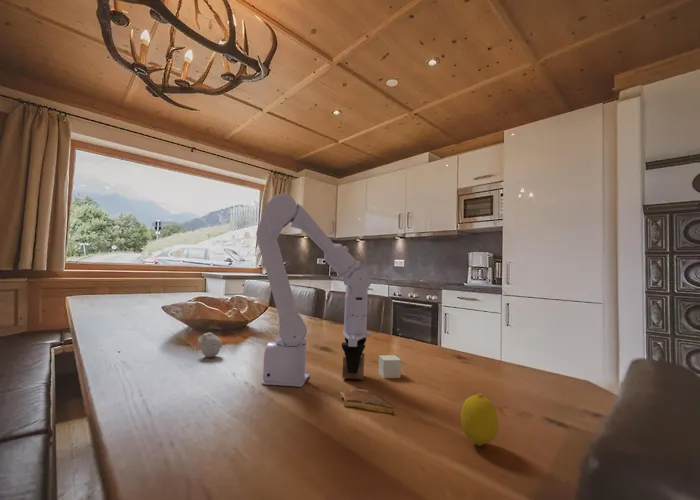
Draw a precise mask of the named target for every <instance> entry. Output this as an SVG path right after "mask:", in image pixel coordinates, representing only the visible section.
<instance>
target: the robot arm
mask: <svg viewBox="0 0 700 500" xmlns="http://www.w3.org/2000/svg"><path fill="white" fill-rule="evenodd" d="M290 223H291V224H290ZM289 224H290V227H291V228H294V229H299V230H302V231H303V232H304V233H305V234H306V236H308V238H309V239H311V241H313V242H314V243H315V244H316V246H318V247H319V249H321V250H322V251H323V253H324V254H323V256H324V257H323V260H324V261H325V263H327V264H328V265H329V267H331V268H332V270H333V271H334V272H335V273H336V274H337V275H338V277H340V278H342V281H343V283H344V285H345V296H344V318H343V331H342V336H344V341H345V342H344V341H343V342H342V343H341V348H342V350H343V352H344V354H345V356H346V362H347V369H348V373H354V374H357V371H358V367H359V362H360V357H361V354H362V353H364V350H365V348H366V341H367V337H371V336H372V333H371V332H370V331H367V327H368V326H367V323H368V299H369V298H368V297H369V296H368V293H369V292H368V289H369V287H371V284H372V280H373V279H372V278H371V276H370V275H371V274H370V272H369V271H368V270H367V269H366V268H364V267H361V266H360V265H361V264H362V263H361V262H360V260H356V259H355V258H354V256H352V255H351V253H349V248H348V246H347V245H344V246H343V245H342V243H334V242H333V241H332V240H331V239H330V237H329V236H328V235H327V234H326V232H324V230H323V229H322V228H321V227H320V226H319V224H318V223H317V222H316V221H315V220H314V218H313V217H312V216H311V215H310V213H308V212H307V210H306V209H305V208H304V207H303V206H302V205H300V204H299V203H297V202H296V200H295V199H294V197H292V196H291V195H289V194H287V193H278V194H275V195H274V196H273V197H272V198H271V199H270V200H269V201H268V203H267V204H266V205H265V206H264V210H263V214H262V216H261V219H260V221H259V224H258V227H257V229H256V233H255V234H256V235H255V236H256V239H257V243H258V247H259V251H260V254H261V259H262V261H263V265H264V269H265V272H266V275H267V279H268V283H269V287H270V290H271V293H272V297H273V301H274V303H275V304H274V305H275V307H276V312H277V316H278V324H277V325H278V326H277V327H278V335H279V336H278V338H276V339H275V341H270V342H268V343H266V347H265V348H264V354H263V356H264V357H263V373H262V375H263V376H262V381H261V384H262V385H269V386H270V385H271V386H285V387H297V388H298V387H299V388H300V387H303V386H304V385H305V383H306V382H307V380H308V378H309V376H310V373H306V362H307V360H306V359H307V358H306V357H307V339H305V338H306V335H307V330H308V328H307V324H306V323H305V321H304V319H303V318H302V316H301V315H300V313H299V312H298V309H297V305H296V301H295V299H294V295H293V292H292V288H291V285H290V281H289V277H288V273H287V271H286V267H285V263H284V258H283V256H282V252H281V248H280V245H279V242H278V237H279V235H280V234H281V232H282V231H283V229H284V228H285V227H286V226H288V225H289Z"/></svg>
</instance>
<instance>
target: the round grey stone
mask: <svg viewBox="0 0 700 500" xmlns="http://www.w3.org/2000/svg"><path fill="white" fill-rule="evenodd" d="M197 343H198V347H200V349H201V354H202V355H203V356H205V357H206V358H215V356H217V355H218V354H219V352H220V350H221V349H222V346H223V340H221V338H220V337H218V336H217V335H216V334H214V333H213V332H205V333H204V334H202V335H200V336H199V337H198V339H197Z"/></svg>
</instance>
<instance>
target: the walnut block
mask: <svg viewBox="0 0 700 500" xmlns="http://www.w3.org/2000/svg"><path fill="white" fill-rule="evenodd" d="M365 356H366V355H365V352H362V354H361V357H360V362H359V367H358V371H357V374H354V373H348V369H347V362H346V356H345V353H344V354H343V357H342V358H343V359H342V377H341V378H342V379H353V380H363V379H364V373H365Z"/></svg>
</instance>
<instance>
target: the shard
mask: <svg viewBox="0 0 700 500" xmlns="http://www.w3.org/2000/svg"><path fill="white" fill-rule="evenodd" d="M339 394H340V396H341V397H342V398H343V406H344V407H351V408H358V409H364V410H369V411H373V412H379V413H385V414H386V413H387V414H393V411H394V410H395V408H394V407H392V406H391V405H390V404H388V403H387V402H385V401H384V400H383V399H382V398H381V397H379V396H378V395H376V394H375V393H374V392H372V391H370V390H369V389H361V388H357V389H356V388H354V389H349V390H348V389H347V390H341V391H340V392H339Z"/></svg>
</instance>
